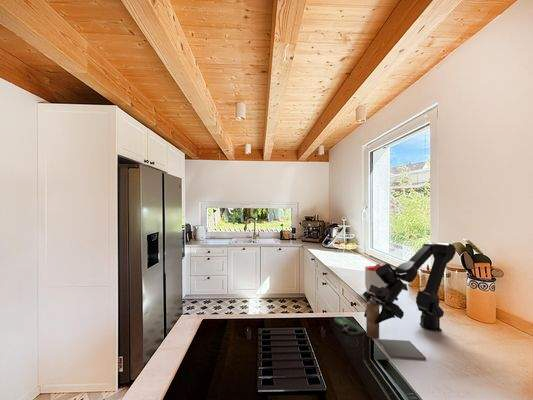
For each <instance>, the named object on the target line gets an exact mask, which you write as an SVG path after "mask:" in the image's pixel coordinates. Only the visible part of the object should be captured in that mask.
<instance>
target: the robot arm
mask: <svg viewBox="0 0 533 400" xmlns="http://www.w3.org/2000/svg"><path fill="white" fill-rule="evenodd" d="M456 252H457V249H456V247H455V246H454V244H452V243H446V242H439V241H438V242H436V243H434V242H424V243H423V244H422V246H421V247H420V249H418V250H417V252H416V253H414V255H413V256H412V257H411V258H410V259H408V261H406V262H403V263H401V264H399V265H398V266H397V267H395V268H393V267H392V266H391V263H390V264H389V263H386V262H385V264H382V265H381V266H380V267H378V268H377V269H376V274H377V275H378V276H379V277H380V279H381V280H382V281H383V282H384V283H385V284H387V285H386V287H385V288H384V287H381V288H379V287H376V286H374V285H371V286H370V289H369V292H368V291H367V290H366V291H364V292H363V293H362V296H363V298H365V300H366V303H367V302H370V299H373V300H376V303H378V304H379V306H380V307H381V310H380V311H379V315H378V317H377V318H376V320H375V323H376V324H378V323H379V324H380V323H382V322H384V321H388V320H390V319H393V318H394V319H395V318H398V319H400V320H402V318H403V317H404V313H405V312H404V310H402V308H401V307H400V306H399V305H398V304H396V303H394V302H395V301H399V298H398V296H399V295H400V294H401V292H402V291H406V292H407V291H408V290H409V289H408V286H407V285H408V284H407V283H412V282H413V281H415V279H416V277H417V276H418V274H419V273H418V271H419V269H420V268H421V267H423V265H424V264H425V262H426V261H428V260H429V259H430V258H431V256H432V257H433V263H432V265H431V268H430V272H429V275H428V279H427V282H426V285H425V288H423V289H422V290H418V291H417V295H416V297H415V304H416V306H417V310H418V311H419V312H421V314H420V322H419V325H420V326H421V327H422V328H423V329H425V330H426V331H438V332H439V331H440V332H441V331H443V329H442V328H441V327H440V326H441V325H440V324H441V323H440V321H441V318H443V317H444V314H445V311H444V310H443V309H442V307H441V306H440V298H439V294H438V293H439V290H440V286H441V284H442V281H443V277H444V273H445V271H446V269H447V268H446V267H447V265H448V264H449V263H450V261H452V260H453V259H454V257H455V255H456ZM403 281H404V282H406V283H404V282H403ZM370 292H372V293H373V294H375V296H376V297H377V298H376V297H375V296H374V295H373V294H372V293H370ZM363 317H365V318H366V310H365V311H364V315H363Z"/></svg>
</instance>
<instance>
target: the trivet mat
mask: <svg viewBox="0 0 533 400" xmlns="http://www.w3.org/2000/svg"><path fill="white" fill-rule="evenodd" d="M377 339H378V343H379V345H380V346H381V347H382V346H383V347H382V348H383V350H384V349H385V350H384V351H385V352H386V354H387V353H388V354H387V355H388V356H389V358H390V359H400V360H403V359H404V360H416V361H418V360H420V361H427V357H426V356H425V355H424V354H423V353H422V352H421V351H420V349H419V348H417V346H415V345H414V343H412V342H411V341H410V340H405V339H404V340H403V339H388V338H387V339H384V338H382V339H381V338H377Z"/></svg>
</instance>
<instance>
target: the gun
mask: <svg viewBox="0 0 533 400" xmlns="http://www.w3.org/2000/svg"><path fill="white" fill-rule="evenodd" d="M333 322H334V324H335V325H337V326H338V327H340V328H341V330H340V332H341V333H343V334H344V333H345V334H347V335H348V336H351V337H358V336H364V335H365V334H366V329H363V328H362V327H360V326H359V325H357V324H356V323H354V322H353V321H351V320H349V319H348V318H347V317H345V316H340V317H339V316H338V317H334V319H333ZM351 331H353V332H351Z"/></svg>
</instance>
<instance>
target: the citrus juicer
mask: <svg viewBox="0 0 533 400" xmlns="http://www.w3.org/2000/svg"><path fill="white" fill-rule="evenodd" d="M380 266H382V265H381V264H380V263H376V265H367V266H365V267H364V275H365V276H364V284H365V289H366V291H368V292H369V289H370V286H371V285H374V286H376V287H379V288H381V287H384V288H385V287H386V285H387V284H385V283H384V282H383V281H382V280H381V279H380V277H379V276H378V275H377V274H376V269H377V268H378V267H380ZM370 293H372V292H370ZM372 294H373V293H372ZM373 295H374V296H375V294H373ZM375 297H376V296H375ZM376 298H377V297H376Z"/></svg>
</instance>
